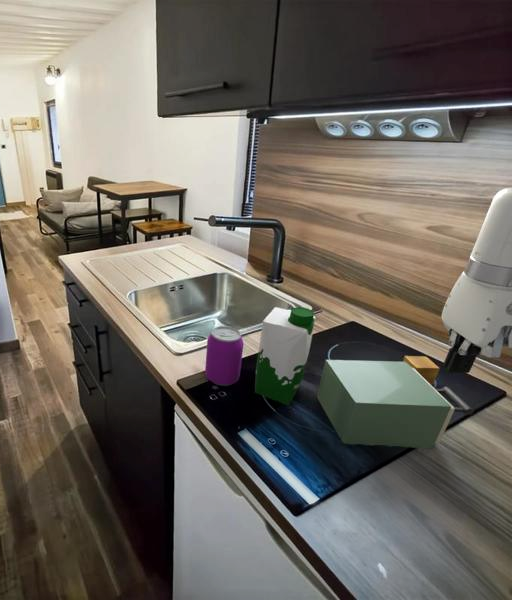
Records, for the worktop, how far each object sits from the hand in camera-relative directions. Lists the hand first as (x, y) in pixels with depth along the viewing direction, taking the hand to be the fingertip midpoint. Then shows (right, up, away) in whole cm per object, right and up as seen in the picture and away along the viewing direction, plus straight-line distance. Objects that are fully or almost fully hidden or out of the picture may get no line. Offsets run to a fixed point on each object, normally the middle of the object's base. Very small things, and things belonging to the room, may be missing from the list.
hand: (455, 369), depth 63 cm
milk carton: (-24, -8, +16) cm, 30 cm away
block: (+7, -5, +17) cm, 19 cm away
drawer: (-6, -10, +6) cm, 13 cm away
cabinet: (-10, -11, +7) cm, 17 cm away
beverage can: (-34, -6, +21) cm, 41 cm away
